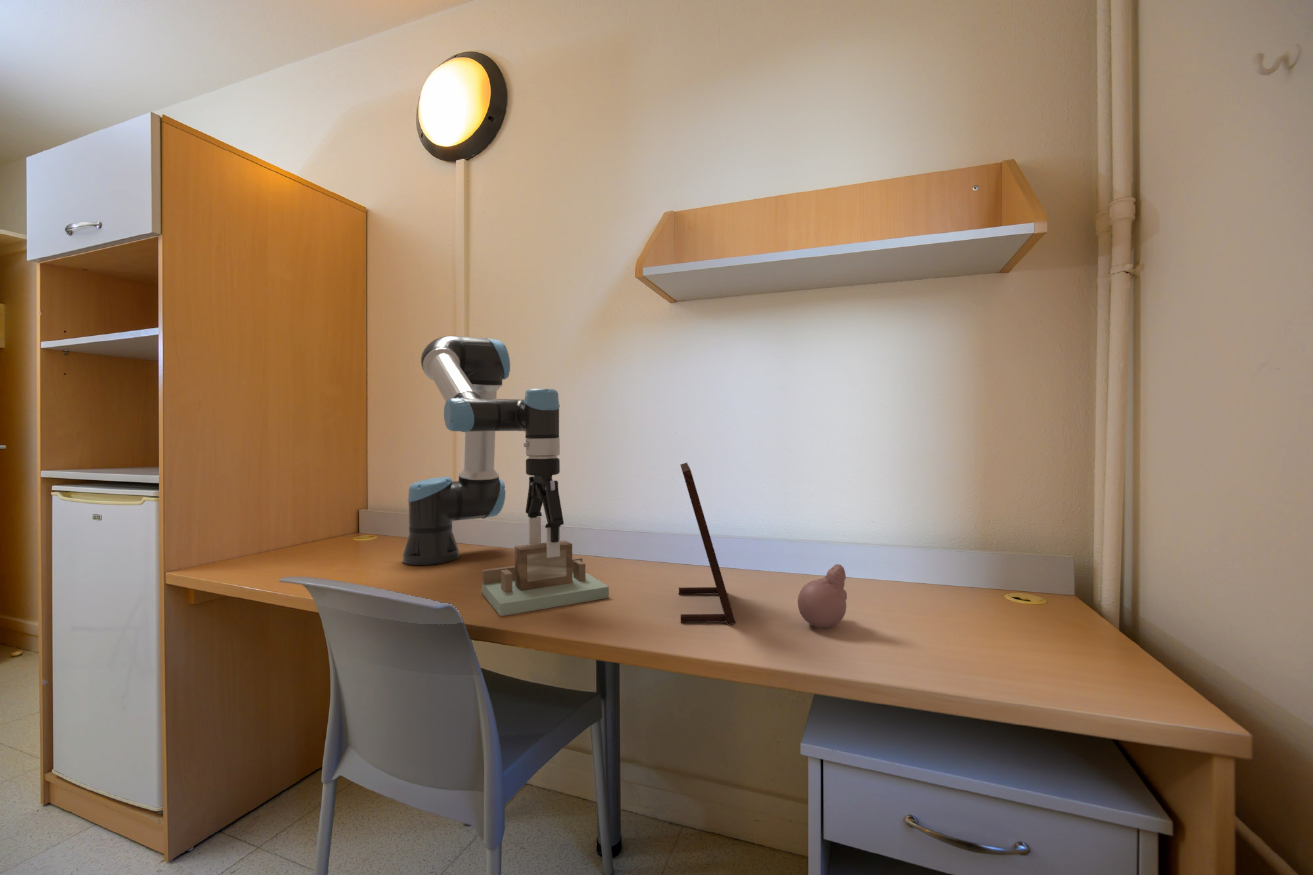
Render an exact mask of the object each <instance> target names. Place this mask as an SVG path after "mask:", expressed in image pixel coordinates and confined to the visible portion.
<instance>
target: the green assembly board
mask: <svg viewBox="0 0 1313 875" xmlns="http://www.w3.org/2000/svg"><path fill="white" fill-rule="evenodd" d="M572 573H573V583H569V584H563V585H556V586H550V587H543V588H537V589H530V590H523V591H520V590H519V589H518V588H517V587H516V586H515V565H511V566H502V567H494V568H486V569H482V570H481V577H482V578H481V580H482V581H481V594H482V595H483V596H484V598H485V599H486V600H487V601H488V602H489V604H490V605H491V607H492V608H493V609H494V610H495V611H496V612H497V614H498V615H499V616H500V617H505V616H509V615H510V616H511V615H516V614H521V613H527V612H532V611H533V612H534V611H539V610H546V609H550V608H556V607H563V606H569V605H574V604H580V603H586V602H591V601H598V600H603V599H609V597H610V590H609V589H610V587H609V585H607V584H605V583H603V582H601V581H600V580H598V579H597V578H595V577H594V576H592V575H591V574H589V573H587V572H586V563H585V562H583V558H582V557H580V556H579V557H572Z"/></svg>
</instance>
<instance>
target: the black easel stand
mask: <svg viewBox="0 0 1313 875" xmlns="http://www.w3.org/2000/svg"><path fill="white" fill-rule="evenodd" d="M679 465H680V468H681V472H682V476H683V478H684V482H685V484H686V485H685V486H686V489H687V491H688V496H689V500H690V502H691V506H692V509H693V512H694V513H693V514H694V516H695V520H696V522H697V526H698V530H699V534H700V536H701V540H702V544H703V546H704V549H705V553H706V557H707V559H708V563H709V568H710V571H711V573H712V577H713V581H714V584H715V586H714V587H713V586H711V587H710V586H707V587H706V586H705V587H704V586H702V587H700V586H699V587H696V586H695V587H690V586H689V587H688V586H687V587H685V586H684V587H678V595H701V594H702V595H703V594H704V595H705V594H707V595H709V594H710V595H716V594H717V595H718V599H719V601H720V605H721V608H722V611H723V613H695V614H694V613H686V614H685V613H681V614H680V623H704V622H705V623H707V622H708V623H714V622H715V623H716V622H717V623H718V622H721V623H722V622H723V623H724V622H725V623H726V625H727V626H730V625H732V624H736V620H735V617H734V614H733V610H732V607H731V603H730V600H729V599H730V598H729V596H728V592H727V589H726V586H725V582H724V579H723V576H722V572H721V568H720V565H719V563H718V562H719V561H718V558H717V556H716V550H715V549H714V545H713V542H712V538H711V535H710V530H709V528H708V524H707V521H706V518H705V515H704V510H703V507H702V504H701V500H700V496H699V494H698V490H697V486H696V484H695V480H694V476H693V474H692V473H693V472H692V470H691V468H690V465H689V464H688V462H684V463H681V464H679Z"/></svg>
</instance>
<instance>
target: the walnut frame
mask: <svg viewBox="0 0 1313 875" xmlns="http://www.w3.org/2000/svg"><path fill="white" fill-rule="evenodd" d="M572 558H573V544H572V543H571V542H569V541H567V540H566V539H565V540H560V556H558V557H550V558H547V542H541V543H538V544H529V543H528V544H523V545H515V546H514V566H515V586H516V587H517V588H518V589H519V590H520V591H523V590H530V589H537V588H543V587H550V586H556V585H563V584H569V583H573V573H572Z"/></svg>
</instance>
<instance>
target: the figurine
mask: <svg viewBox="0 0 1313 875" xmlns="http://www.w3.org/2000/svg"><path fill="white" fill-rule="evenodd" d="M846 579H847V576H846V571H845V567H844V566H842V564H838V563H836V564H834V565H833V566H832V567H831V568H830V569H828V571H827V572H826V575H825V576H823V578H818V579H814V580H811V581H809V582H807V583H806V584H805V585H803V587H801V589H800V591H799V594H798V596H797V607H798V610H799V613H800V615H801V617H802V619H803V620H804V621H806V622H807V623H808V624H809V625H811V626H813V627H815V628H817V629H818V628H819V629H829V628H833V627H835V626H836V625H838V624H839V623H840V622H841V621H842V620H843V619H844V616H845V615H846V612H847V598H848V595H847V594H848V593H847V590H845V589H844V588H845V581H846Z"/></svg>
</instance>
